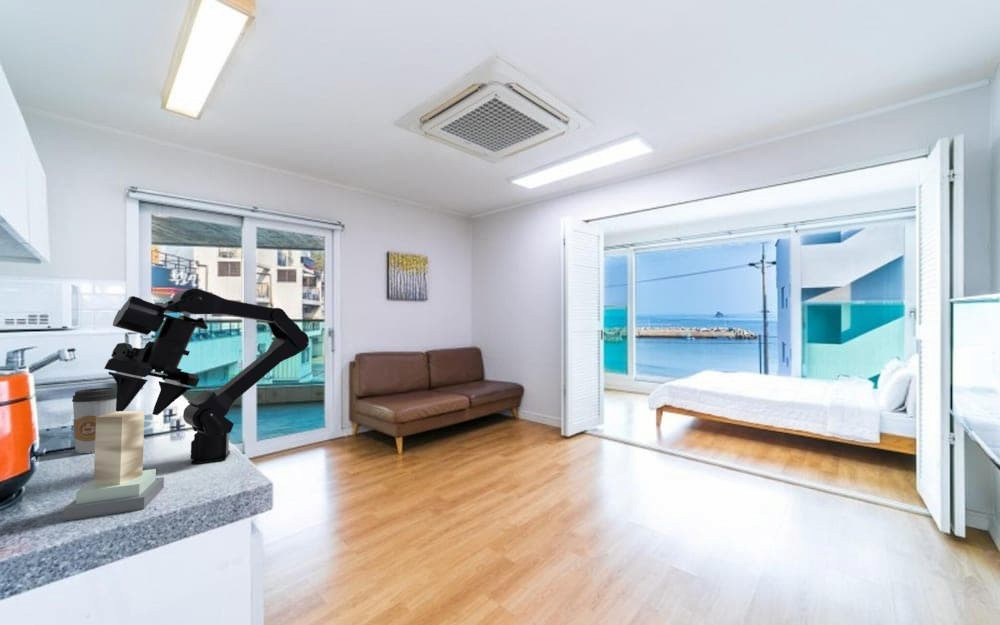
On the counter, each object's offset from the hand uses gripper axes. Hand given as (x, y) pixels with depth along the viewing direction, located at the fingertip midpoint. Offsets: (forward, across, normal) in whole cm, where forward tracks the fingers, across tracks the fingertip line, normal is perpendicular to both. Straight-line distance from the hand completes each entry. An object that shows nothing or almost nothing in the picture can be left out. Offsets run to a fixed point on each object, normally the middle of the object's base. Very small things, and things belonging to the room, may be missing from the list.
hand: (137, 413), depth 83 cm
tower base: (+14, +9, +11) cm, 20 cm away
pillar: (+10, +10, +10) cm, 18 cm away
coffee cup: (+13, -21, -23) cm, 34 cm away
